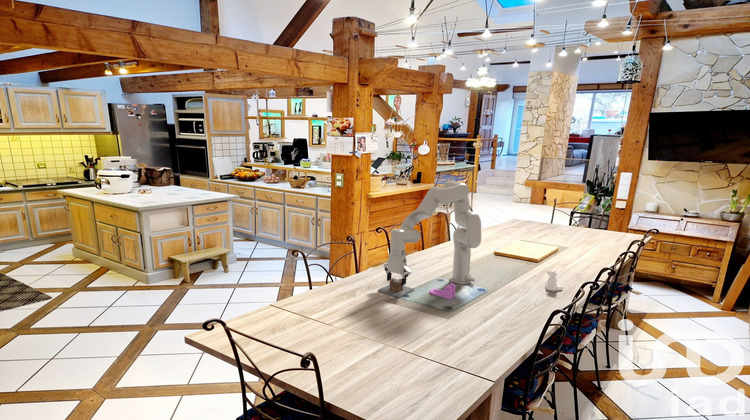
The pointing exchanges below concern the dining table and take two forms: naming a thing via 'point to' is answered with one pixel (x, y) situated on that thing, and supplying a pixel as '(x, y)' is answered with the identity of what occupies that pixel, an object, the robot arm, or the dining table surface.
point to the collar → (396, 285)
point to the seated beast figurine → (552, 281)
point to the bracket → (445, 291)
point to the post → (396, 294)
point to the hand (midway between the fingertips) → (396, 282)
